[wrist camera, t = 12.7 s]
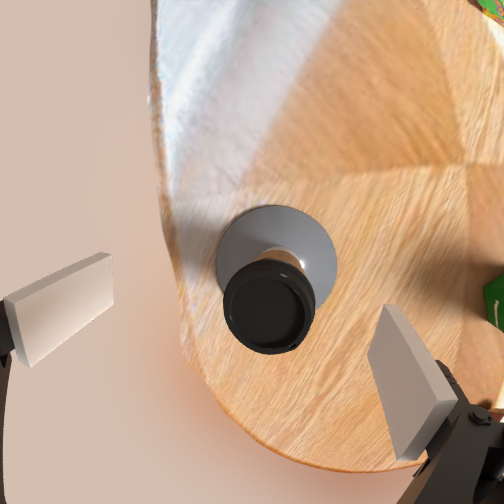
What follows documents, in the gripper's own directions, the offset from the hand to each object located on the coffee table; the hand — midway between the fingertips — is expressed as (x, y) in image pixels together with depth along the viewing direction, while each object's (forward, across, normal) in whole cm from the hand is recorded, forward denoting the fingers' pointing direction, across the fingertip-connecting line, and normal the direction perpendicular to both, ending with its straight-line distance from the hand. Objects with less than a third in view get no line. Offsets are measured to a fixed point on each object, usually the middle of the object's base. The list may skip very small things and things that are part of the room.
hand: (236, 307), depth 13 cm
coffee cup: (+26, +1, -6) cm, 26 cm away
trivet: (+26, +1, -6) cm, 27 cm away
